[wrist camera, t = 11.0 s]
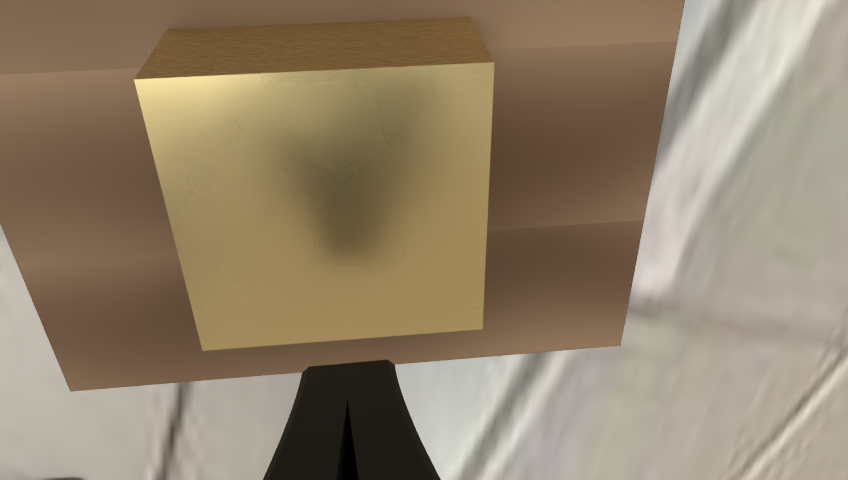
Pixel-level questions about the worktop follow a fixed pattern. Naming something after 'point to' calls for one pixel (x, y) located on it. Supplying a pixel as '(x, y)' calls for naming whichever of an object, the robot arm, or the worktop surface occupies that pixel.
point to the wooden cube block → (325, 176)
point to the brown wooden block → (304, 4)
